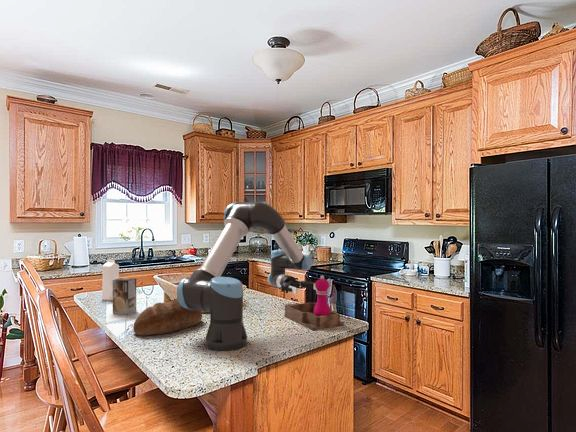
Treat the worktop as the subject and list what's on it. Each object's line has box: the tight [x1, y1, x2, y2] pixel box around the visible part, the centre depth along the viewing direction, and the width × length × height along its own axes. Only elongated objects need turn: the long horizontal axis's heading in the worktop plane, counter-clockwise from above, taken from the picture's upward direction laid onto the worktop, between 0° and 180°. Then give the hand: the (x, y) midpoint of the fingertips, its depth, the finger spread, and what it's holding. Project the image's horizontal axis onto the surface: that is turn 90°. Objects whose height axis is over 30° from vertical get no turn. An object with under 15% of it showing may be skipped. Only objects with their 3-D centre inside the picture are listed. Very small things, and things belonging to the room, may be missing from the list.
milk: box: [101, 259, 120, 301], centre depth 205 cm, size 6×6×22 cm
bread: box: [132, 299, 203, 337], centre depth 153 cm, size 16×29×11 cm, turn 139°
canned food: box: [163, 280, 180, 303], centre depth 192 cm, size 8×8×12 cm
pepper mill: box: [314, 274, 331, 316], centre depth 157 cm, size 7×7×20 cm
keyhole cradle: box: [283, 301, 345, 331], centre depth 163 cm, size 16×24×5 cm, turn 29°
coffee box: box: [112, 277, 137, 315], centre depth 176 cm, size 9×6×16 cm
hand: (309, 289), depth 166 cm, fingers open, 13 cm apart
